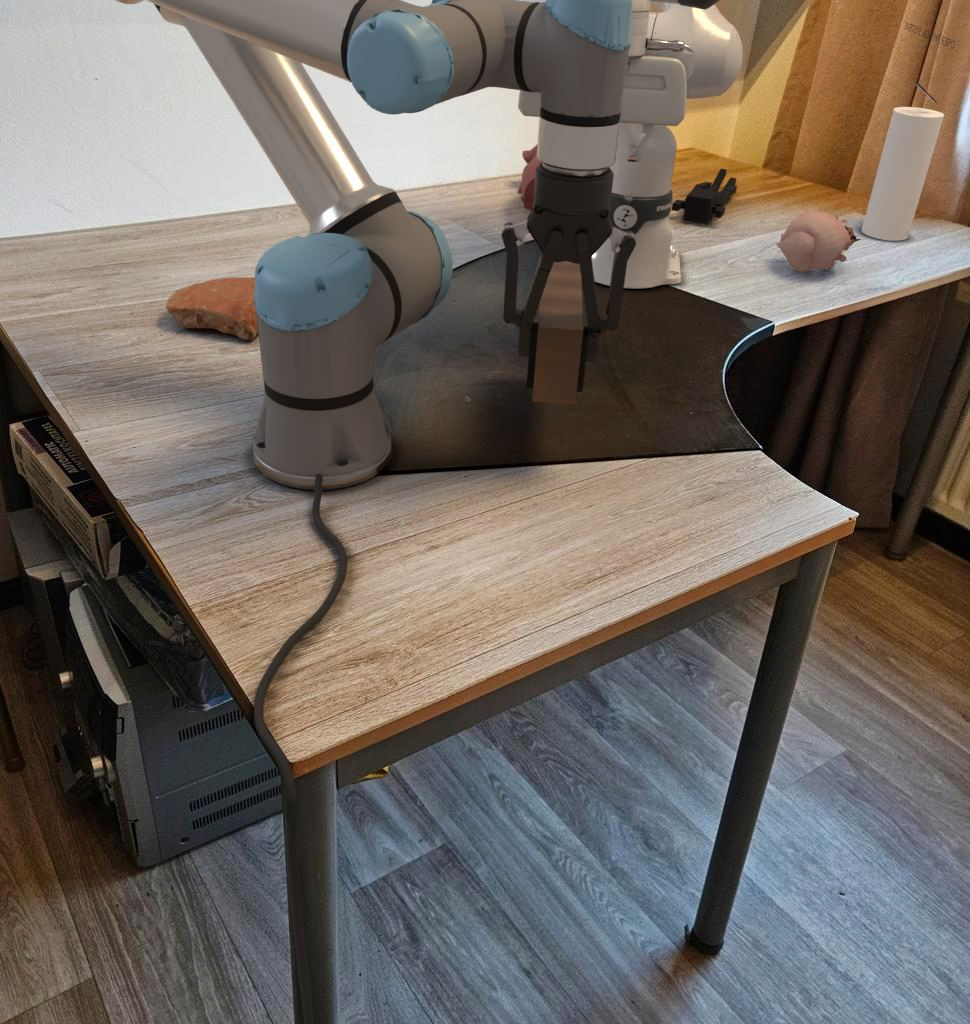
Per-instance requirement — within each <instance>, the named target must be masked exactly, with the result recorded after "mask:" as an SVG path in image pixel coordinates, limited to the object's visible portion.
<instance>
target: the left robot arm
mask: <svg viewBox="0 0 970 1024" xmlns="http://www.w3.org/2000/svg"><path fill="white" fill-rule="evenodd" d="M114 1H115V2H118V3H121V4H125V5H135V4H140V3H142V2H144V1H147V2H149V3H151V4H153V5H154V6H155V8H156V10H157V11H158V13H159V14H160V16H161V17H162V19H163V20H164V21H165V22H167V23H170V24H173V25H178V26H181V27H184V28H185V29H186V30H187V32H188V34H189V35H190V37H191V39H192V40H193V41H194V43H195V45H196V46H197V48H198V50H199V51H200V52H201V54H202V56H203V57H204V59H205V61H206V62H207V64H208V65H209V67H210V69H211V70H212V72H213V73H214V75H215V77H216V78H217V79H218V81H219V83H220V84H221V86H222V88H223V89H224V91H225V92H226V94H227V96H228V97H229V99H230V100H231V102H232V103H233V105H234V106H235V108H236V110H237V111H238V113H239V114H240V116H241V118H242V119H243V122H245V124H246V126H247V127H248V128H249V131H250V132H251V134H252V135H253V136H254V138H255V140H256V141H257V143H258V145H259V146H260V148H261V149H262V152H263V153H264V154H265V156H266V157H267V158H268V161H269V163H270V164H271V165H272V167H273V169H274V170H275V172H276V173H277V175H278V176H279V178H280V180H281V181H282V183H283V184H284V186H285V188H286V189H287V191H288V192H289V194H290V196H291V197H292V199H293V200H294V202H295V203H296V205H297V207H298V208H299V210H300V211H301V213H302V214H303V216H304V217H305V219H306V221H307V223H308V224H309V232H308V234H307V235H306V236H301V235H300V236H299V235H296V236H293V237H289V238H287V239H284V240H282V241H280V242H277V243H275V244H274V245H272V246H271V247H269V248H268V249H267V250H266V251H265V252H263V254H262V255H261V256H260V258H259V260H258V261H257V263H256V266H255V270H254V278H255V292H254V305H255V309H256V313H257V323H258V340H259V342H258V343H259V349H260V351H259V352H260V359H261V370H262V379H263V388H264V390H263V391H264V396H263V400H262V404H261V408H260V412H259V415H258V419H257V423H256V427H255V430H254V434H253V439H252V455H253V460H254V464H255V467H256V468H257V470H258V471H259V472H260V473H261V474H262V475H263V476H265V477H266V478H268V479H269V480H271V481H273V482H275V483H278V484H280V485H283V486H286V487H290V488H295V489H301V490H312V491H313V492H314V493H313V501H312V508H311V515H312V519H313V523H314V525H315V526H316V528H317V530H318V531H319V532H320V533H321V534H322V535H323V537H324V538H325V539H327V541H329V543H330V544H332V546H333V547H334V548H335V550H336V552H337V555H338V562H339V563H338V564H339V565H338V571H337V576H336V578H335V581H334V583H333V584H332V587H331V589H330V591H329V592H328V593H327V595H326V597H325V599H324V600H323V602H322V604H321V605H320V607H318V609H317V610H316V611H315V612H314V614H312V615H311V616H310V617H309V618H308V619H307V620H306V621H305V622H304V623H303V624H302V625H300V627H298V628H297V629H296V630H295V631H294V632H293V633H292V634H291V635H290V636H289V637H288V638H287V640H286V641H285V642H284V644H282V646H281V647H280V649H279V650H278V652H277V653H276V655H275V656H274V658H273V659H272V661H271V662H270V664H269V665H268V667H267V669H266V670H265V672H264V674H263V676H262V678H261V680H260V682H259V684H258V687H257V690H256V693H255V697H254V703H253V722H254V727H255V729H256V732H257V734H258V737H259V738H260V740H261V741H262V742H263V744H264V745H265V747H266V748H267V750H268V751H269V753H270V754H271V755H272V757H273V759H274V760H275V762H276V763H277V767H278V769H279V771H280V774H281V777H282V781H283V785H284V789H285V795H286V799H287V801H288V802H295V801H296V800H297V799H298V792H297V791H298V790H297V786H296V782H295V777H294V773H293V770H292V767H291V765H290V762H289V760H288V758H287V755H286V754H285V752H284V751H283V749H282V748H281V746H280V745H279V744H278V742H277V741H276V740H275V738H274V737H273V736H272V734H271V733H270V731H269V729H268V728H267V724H266V721H265V716H264V707H265V701H266V695H267V692H268V689H269V687H270V685H271V682H272V681H273V679H274V677H275V675H277V674H276V673H277V672H278V671H279V669H280V668H281V665H282V664H283V662H284V661H285V659H286V658H287V656H288V654H289V653H290V652H291V650H292V649H293V648H294V646H295V645H296V644H297V643H298V642H299V641H300V640H301V639H302V638H303V637H304V636H305V635H306V634H307V633H309V631H310V630H311V629H313V627H315V626H316V624H318V623H319V622H320V621H321V620H322V619H323V618H324V616H326V614H327V613H328V611H329V610H330V609H331V607H332V606H333V604H334V603H335V601H336V599H337V597H338V595H339V593H340V592H341V590H342V588H343V585H344V583H345V580H346V578H347V577H346V576H347V570H348V556H347V552H346V548H345V546H344V545H343V543H342V542H341V541H340V540H339V538H337V537H336V536H335V534H333V532H332V531H330V529H328V528H327V526H326V525H325V523H324V521H323V520H322V517H321V513H320V509H321V503H322V502H321V501H322V492H323V490H327V491H328V490H337V489H342V488H348V487H351V486H355V485H358V484H361V483H363V482H366V481H368V480H370V479H373V478H374V477H375V476H377V475H378V474H380V473H381V472H382V471H383V470H384V469H385V468H386V467H387V466H388V464H389V463H390V461H391V458H392V437H391V432H392V433H394V422H393V417H392V415H391V411H390V408H389V406H387V418H388V422H389V425H390V429H391V432H390V430H389V427H388V424H387V422H386V419H385V417H384V413H383V411H382V408H381V406H380V403H379V400H378V398H377V395H376V393H375V385H374V349H375V348H376V347H379V346H381V344H383V343H385V342H387V341H388V340H390V339H391V338H393V337H394V336H396V335H398V334H399V333H401V332H402V331H404V330H405V329H407V328H409V327H410V326H412V325H414V324H416V323H417V324H418V323H419V322H420V321H422V320H423V319H425V318H427V317H428V316H429V315H430V314H431V312H433V311H434V309H436V308H437V307H438V306H439V305H440V304H441V303H442V302H443V300H444V299H445V298H446V297H447V294H448V292H449V291H450V287H451V283H452V277H453V274H454V261H453V254H452V250H451V246H450V244H449V242H448V239H447V237H446V236H445V234H444V233H443V231H442V229H441V228H440V227H439V225H438V224H436V222H435V221H433V219H431V218H430V217H428V216H426V215H424V216H423V215H421V214H420V213H419V212H416V211H412V210H407V208H406V207H405V205H404V203H403V201H402V200H401V198H400V196H399V195H398V193H397V192H396V190H395V189H394V188H391V187H387V186H384V185H379V184H377V183H376V182H375V181H374V180H373V178H372V177H371V175H370V174H369V172H368V170H367V168H366V167H365V165H364V164H363V162H362V160H361V159H360V157H359V155H358V153H357V152H356V151H355V149H354V147H353V145H352V144H351V142H350V140H349V139H348V137H347V136H346V134H345V132H344V131H343V129H342V127H341V126H340V124H339V123H338V121H337V119H336V118H335V116H334V114H333V113H332V111H331V109H330V108H329V106H328V105H327V103H326V101H325V100H324V98H323V96H322V94H321V92H320V91H319V90H318V88H317V86H316V85H315V83H314V81H313V80H312V77H310V75H309V73H308V72H307V70H306V68H305V66H304V65H306V66H309V67H310V68H314V69H315V70H316V69H317V70H319V71H321V72H323V73H326V74H328V75H331V76H333V77H335V78H338V79H341V80H343V81H346V82H348V83H351V84H352V87H353V88H354V90H355V92H356V94H358V95H359V96H360V97H361V99H362V100H363V101H364V102H365V103H366V105H367V106H368V107H370V108H371V109H372V110H375V111H377V112H379V113H382V114H386V115H401V114H414V113H415V114H416V113H420V112H423V111H425V110H427V109H430V108H432V107H434V106H436V105H438V104H440V103H444V102H446V101H449V100H452V99H455V98H458V97H459V98H460V97H462V96H465V95H469V94H471V93H474V92H477V91H480V90H484V89H487V88H499V89H507V90H515V91H520V90H522V91H526V92H533V93H534V92H538V93H541V108H540V117H539V119H538V120H539V121H538V133H537V134H538V135H537V144H538V146H537V158H538V160H539V161H540V162H542V163H540V164H539V165H538V166H537V168H536V174H535V188H534V201H533V209H532V211H530V213H529V215H528V216H527V220H524V221H521V222H517V223H512V222H505V223H504V224H503V227H502V231H501V239H502V242H503V246H504V249H505V252H506V263H505V278H504V279H505V280H504V281H505V282H504V297H503V299H504V300H503V313H502V314H503V316H502V319H503V321H504V323H505V324H509V325H510V324H512V325H515V326H516V327H517V328H518V330H519V336H518V347H517V348H518V349H517V352H518V356H519V358H520V357H522V358H528V361H527V372H526V386H525V387H526V389H530V390H531V389H532V390H533V383H534V371H535V359H536V347H537V335H538V323H537V321H536V322H535V318H536V314H537V313H538V306H539V303H540V300H541V297H542V294H543V291H544V288H545V285H546V282H547V279H548V276H549V273H550V272H551V269H552V266H553V263H554V262H564V261H568V262H571V263H574V264H580V271H581V283H582V293H583V298H584V306H585V312H586V320H587V325H583V338H582V347H581V356H580V365H579V374H578V383H577V392H576V393H583V389H584V382H585V374H586V373H585V371H586V362H591V363H592V362H594V363H595V362H596V361H597V358H598V351H599V343H600V336H601V334H602V333H604V332H606V331H611V332H614V331H617V329H618V328H619V324H620V318H621V311H622V304H623V303H622V302H623V297H624V289H625V288H624V282H625V275H626V268H627V261H628V259H629V258H630V256H631V254H632V252H633V250H634V248H635V246H636V240H635V235H634V233H633V232H632V231H630V230H628V231H625V232H624V231H622V230H620V229H618V228H615V227H613V226H612V221H611V219H610V215H609V212H610V203H611V195H612V186H613V178H614V173H613V172H612V170H611V169H610V167H611V166H612V165H614V164H615V162H616V153H617V144H618V136H619V127H620V116H621V105H622V98H623V90H624V83H625V76H626V68H627V61H628V54H629V49H630V47H631V39H630V31H631V15H632V0H545V1H542V2H539V1H535V2H534V1H527V0H431V3H430V4H429V5H426V6H420V5H416V4H413V3H410V2H408V1H404V0H114ZM303 64H304V65H303ZM528 234H530V236H531V238H532V239H533V241H534V242H535V244H536V245H537V247H538V249H539V250H540V256H539V260H538V262H537V265H536V269H535V272H534V273H533V274H534V275H533V278H532V280H531V284H530V287H529V290H528V293H527V296H526V299H525V301H524V305H523V307H522V309H520V308H517V298H518V297H517V296H518V281H519V280H518V279H519V265H520V264H519V263H520V247H523V246H524V245H525V241H526V236H527V235H528ZM608 238H609V239H611V241H612V243H611V248H612V251H613V252H614V259H613V267H612V274H611V282H610V286H609V291H608V298H607V306H606V314H603V315H600V312H599V311H600V310H599V304H598V295H597V288H596V282H595V280H594V272H593V265H592V256H593V255H594V254H595V252H596V251H597V250H598V249H599V248H600V247H601V246H602V245H603V244H604V242H605V241H606V240H607V239H608ZM286 832H287V833H286V852H287V853H286V854H287V867H288V869H287V870H288V881H289V893H290V894H289V895H290V905H291V917H292V928H293V937H294V945H295V955H296V965H297V972H298V980H299V988H300V989H299V990H300V997H301V1005H302V1013H303V1023H304V1024H315V1023H314V1014H313V1003H312V995H311V987H310V977H309V967H308V959H307V949H306V939H305V930H304V918H303V917H304V916H303V906H302V905H303V904H302V893H301V880H300V865H299V849H298V846H299V844H298V843H299V841H298V840H299V827H298V826H295V825H294V824H293V825H292V824H289V823H287V831H286Z"/></svg>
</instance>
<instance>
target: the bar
mask: <svg viewBox="0 0 970 1024" xmlns="http://www.w3.org/2000/svg"><path fill="white" fill-rule="evenodd" d="M536 322H537V323H538V335H537V347H536V359H535V371H534V383H533V389H532V397H531V399H532V400H531V402H534V403H535V402H537V403H547V404H548V403H549V404H562V405H576V402H577V401H576V400H577V393H578V392H577V383H578V374H579V365H580V356H581V347H582V338H583V326H584V312H583V284H582V277H581V271H580V264H574V263H571V262H568V261H564V262H554V263H553V266H552V269H551V272H550V273H549V276H548V279H547V282H546V285H545V288H544V291H543V294H542V297H541V300H540V303H539V306H538V309H537V316H536Z"/></svg>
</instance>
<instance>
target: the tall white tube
mask: <svg viewBox="0 0 970 1024" xmlns="http://www.w3.org/2000/svg"><path fill="white" fill-rule="evenodd" d="M904 30H905V31H907V32H910V33H912V32H913V34H915V33H916V34H917V35H918V36H921V37H923V38H924V37H925V39H928V40H930V41H931V40H932V41H933V42H937V40H938V44H939V43H940V44H942V45H943V46H946V47H947V48H948V47H949V49H950V48H951V49H952V50H953V49H954V48H955V45H956V40H954V39H951V38H948V37H946V36H942V37H941V34H938V35H937V33H934V32H933V31H931V30H926V29H923V34H921V31H922V27H920V26H918V25H915V24H912V23H909V22H908V21H907V22H905V26H904ZM927 33H928V35H927ZM940 37H941V38H940ZM940 39H941V42H940ZM945 39H946V40H945ZM944 42H945V43H944ZM952 43H954V44H953V46H952ZM913 84H914V85H915V86H916V87H917V88H919V90H920V91H921V92H922V95H923V96H924V97H926V98H928V99H929V100H930V101H931V102H932V103H934V104H937V103H938V101H937V100H936V99H935V98H934V97H932V95H931V94H930V93H929V92H928V91H927V90H926V89H925V88H924V87H923V86H922V85H921V84H920V83H919V82H918V81H915V80H914V82H913ZM944 117H945V114H944V113H943V112H940V111H937V110H936V109H935V110H934V109H929V108H924V107H915V106H914V107H913V106H897V107H894V108H893V110H892V114H891V118H890V122H889V126H888V129H887V133H886V137H885V140H884V145H883V148H882V151H881V155H880V159H879V163H878V166H877V170H876V174H875V177H874V182H873V185H872V189H871V193H870V196H869V201H868V203H867V208H866V212H865V215H864V220H863V222H862V227H861V232H862V233H863V234H864V235H866V236H868V237H871V238H873V239H878V240H884V241H893V242H895V241H897V242H898V241H899V242H900V241H905V240H907V239H909V236H910V233H911V229H912V226H913V222H914V219H915V215H916V211H917V210H918V209H917V208H918V206H919V202H920V198H921V195H922V191H923V188H924V184H925V182H926V178H927V175H928V171H929V169H930V165H931V161H932V158H933V155H934V151H935V148H936V145H937V142H938V141H937V140H938V138H939V134H940V130H941V127H942V124H943V121H944Z"/></svg>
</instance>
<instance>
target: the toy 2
mask: <svg viewBox="0 0 970 1024" xmlns="http://www.w3.org/2000/svg"><path fill="white" fill-rule="evenodd" d="M853 227H854V226H849V225H848V221H847V220H846V219H845V218H844V217H842V216H836V217H835V216H834V215H833V214H831V213H828V212H824V211H821V210H810V211H806V212H804V213H802V214H800V215H799V216H797V217H795V218H794V219H793V220H792V221H791V222H790V223H789V225H788V227H787V228H786V229H785V231H784V233H781V234H780V240H779V242H776V241H775V245H776V246H777V247H778V248H779V249H780V250H781V253H782V255H783V256H784V257H785V259H786V262H787V264H788V265H789V267H790V268H791V269H792V270H793V271H797V272H802V273H808V272H810V270H811V271H816V270H818V271H819V270H820V271H823V272H825V269H827V271H829V270H832V269H833V268H834V267H835V262H837V261H839V262H841V263H844V262H846V261H847V260H848V258H847V256H845V255H844V253H846V252H847V251H848V250H849V248H850V247H852V246H853V244H854V243H856V242H858V241H861V240H862V239H861V238H857V235H855V234H856V233H855V230H854V228H853Z"/></svg>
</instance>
